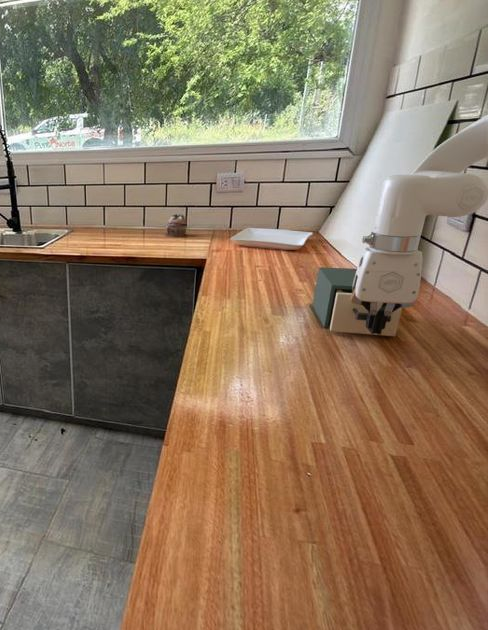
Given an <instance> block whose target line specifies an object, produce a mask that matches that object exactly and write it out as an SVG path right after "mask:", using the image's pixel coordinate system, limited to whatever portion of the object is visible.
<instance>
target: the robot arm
mask: <svg viewBox="0 0 488 630" xmlns="http://www.w3.org/2000/svg"><path fill="white" fill-rule="evenodd" d="M487 158H488V114H486V115H485V116H483V117H481V118H479V119H477V120H476V121H474V122H472V123H471V124H470V125H468V126H466V127H465V128H463V129H462V130H460V131H459V132H457V133H455V134H454V135H452V136H451V137H449V138H447V139H446V140H444V141H443V142H441V144H439V145H438V146H436V147H435V148H434V149H433V150H432V151H431V152H430V153H429V154H428V155H427V156H425V157H424V159H422V161H421V162H420V163H419V164H418V165H416V167H415V168H414V169H413V170H412V172H411V173H410V174H394V175H390V176H388V177H386V178H385V179H384V181H383V183H382V186H381V189H380V195H379V198H378V199H379V200H378V205H377V207H376V208H377V209H376V213H375V219H374V222H373V223H374V224H373V229H372V231H371V232H370V234H369V235H367V236H366V235H363V237H362V240H361V242H362V244H367V245H368V247H367V246H366V247H365V249H364V250H363V253H362V255H361V257H360V260H359V262H358V265H357V268H356V269H357V271H356V274H355V278H354V282H353V287H352V291H353V293H352V295H351V297H350V301H351V302H352V303H354V304H358V305H362V306H364V307H365V308H366V309H367V311H368V316H367V320H366V328H368V330H369V331H370V333H371V334H370V335H374V334H375V333H377V334H381V332H382V329H385V325H386V321H387V317H388V316H390V315H391V313H392V312H394V311H395V310H397V309H399V308H402V309H403V308H411V307H413V306H414V303H415V302H416V301H417V299H418V296H419V292H420V286H421V279H422V270H423V251H420V250H418V249H419V245H420V242H421V236H422V234H423V229H424V225H425V221H426V217H427V216H437V217H448V218H460V217H465V216H468V215H472V214H473V213H475V212H477V211H478V210H480V209H481V208H483V207H484V206H485V204H487V201H488V183H487V182H486V181H485V180H484V179H483V178H482V177H480V176H478V175H475V174H472V173H465V172H463V171H465V170H466V169H467V168H469V167H471V166H473V165H474V164H476V163H478V162H480V161H482V160H484V159H487ZM378 302H381V303H382V305H381V307H380V309H379V311H378Z"/></svg>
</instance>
